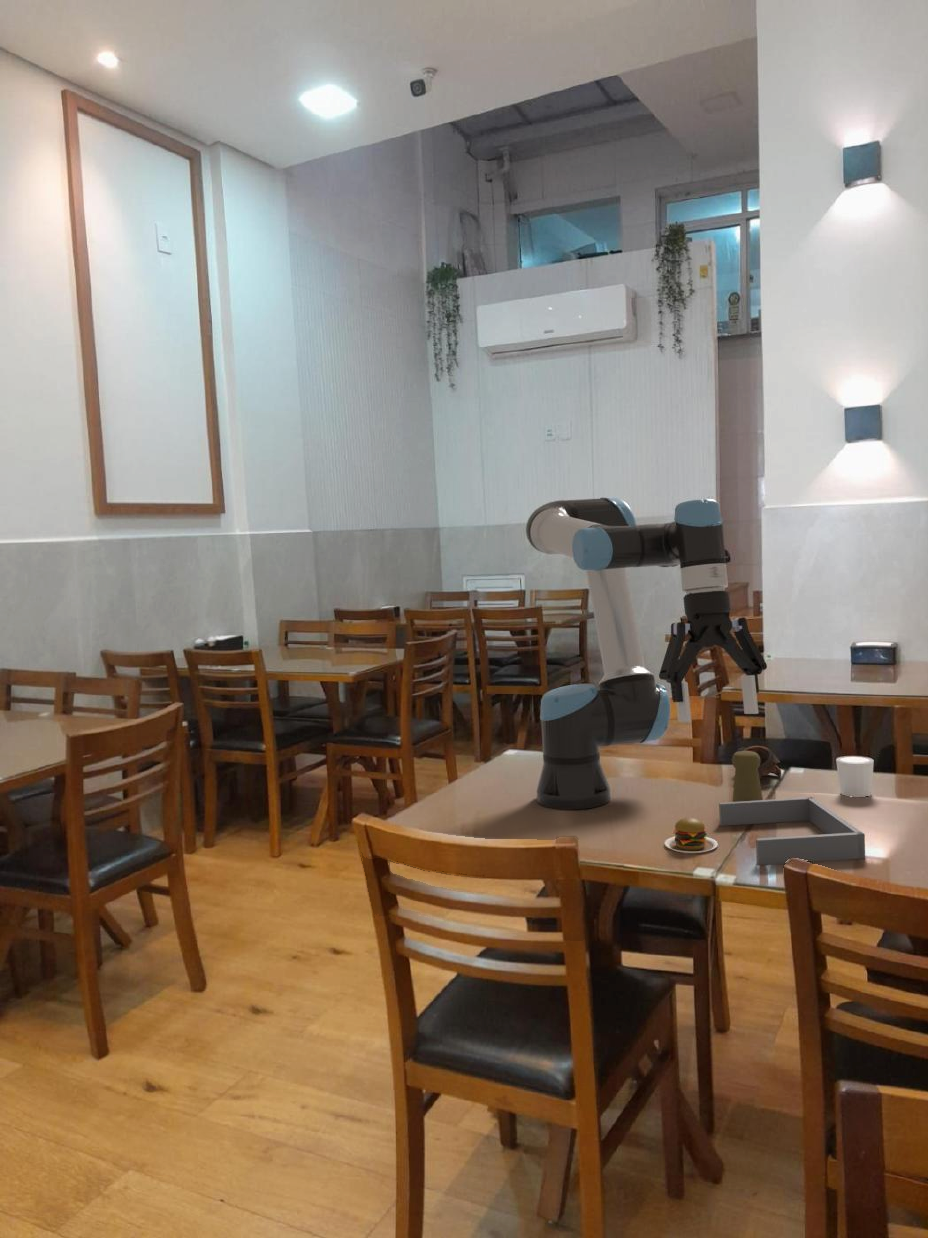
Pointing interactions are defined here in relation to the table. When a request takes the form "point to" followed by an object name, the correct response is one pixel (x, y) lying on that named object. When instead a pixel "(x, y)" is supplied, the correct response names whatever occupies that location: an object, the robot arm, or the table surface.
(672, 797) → the table surface
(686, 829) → the hamburger
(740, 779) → the olive green pepper shaker
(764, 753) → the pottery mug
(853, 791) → the white cup
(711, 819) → the table surface
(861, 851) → the box
